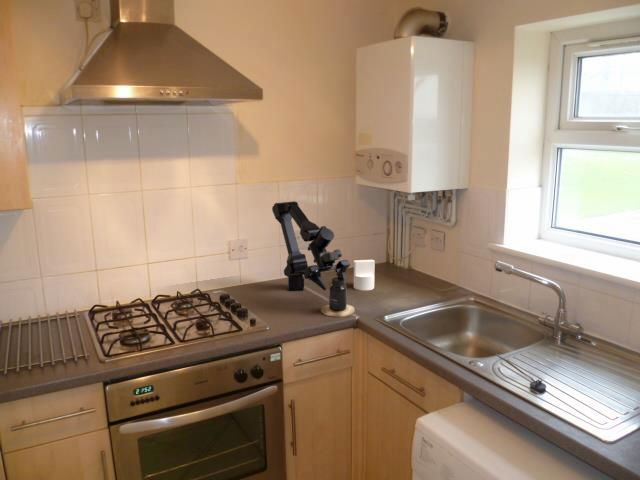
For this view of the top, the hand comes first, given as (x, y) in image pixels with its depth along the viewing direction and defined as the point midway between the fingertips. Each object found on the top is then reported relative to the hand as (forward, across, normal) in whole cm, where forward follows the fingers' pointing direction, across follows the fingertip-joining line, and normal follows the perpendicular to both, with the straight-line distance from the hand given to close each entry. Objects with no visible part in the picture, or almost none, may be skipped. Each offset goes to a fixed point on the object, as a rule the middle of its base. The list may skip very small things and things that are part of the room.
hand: (335, 288), depth 209 cm
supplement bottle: (+7, 0, +4) cm, 8 cm away
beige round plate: (+8, 0, +5) cm, 9 cm away
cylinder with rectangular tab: (-5, +26, +18) cm, 32 cm away
